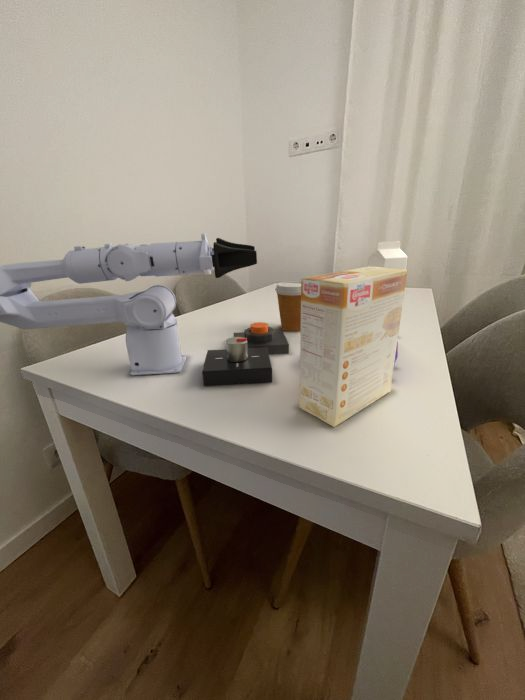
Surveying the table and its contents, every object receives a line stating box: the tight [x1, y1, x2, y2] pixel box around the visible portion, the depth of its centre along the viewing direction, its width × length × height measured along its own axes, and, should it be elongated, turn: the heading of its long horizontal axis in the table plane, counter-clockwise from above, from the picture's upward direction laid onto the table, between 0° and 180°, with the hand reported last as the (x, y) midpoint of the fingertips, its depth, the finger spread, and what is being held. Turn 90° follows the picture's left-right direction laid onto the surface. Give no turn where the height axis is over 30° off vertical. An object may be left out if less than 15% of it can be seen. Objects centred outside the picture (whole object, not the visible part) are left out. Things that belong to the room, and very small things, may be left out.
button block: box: [233, 326, 290, 356], centre depth 69 cm, size 12×10×4 cm
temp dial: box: [224, 337, 248, 362], centre depth 56 cm, size 4×4×4 cm
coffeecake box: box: [298, 266, 408, 428], centre depth 44 cm, size 15×7×20 cm, turn 129°
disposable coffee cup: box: [275, 280, 301, 333], centre depth 81 cm, size 10×10×12 cm
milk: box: [367, 240, 409, 270], centre depth 72 cm, size 6×6×22 cm
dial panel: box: [201, 347, 273, 388], centre depth 57 cm, size 12×10×3 cm
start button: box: [249, 321, 269, 334], centre depth 68 cm, size 4×4×2 cm
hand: (255, 254), depth 55 cm, fingers open, 7 cm apart
